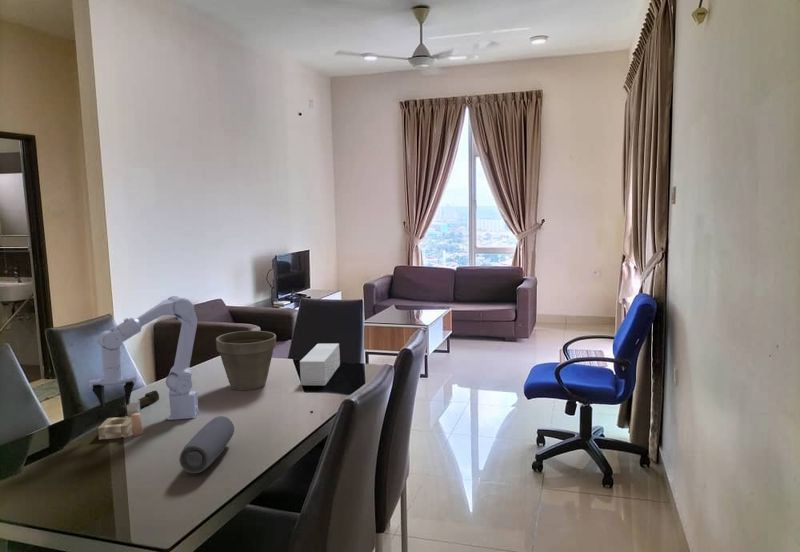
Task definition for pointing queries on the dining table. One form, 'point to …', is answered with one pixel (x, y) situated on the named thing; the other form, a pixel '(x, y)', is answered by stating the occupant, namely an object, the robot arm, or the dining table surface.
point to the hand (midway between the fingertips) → (115, 405)
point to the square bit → (133, 407)
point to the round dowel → (136, 424)
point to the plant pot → (246, 357)
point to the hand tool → (141, 402)
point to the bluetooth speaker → (206, 445)
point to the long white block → (319, 364)
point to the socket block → (115, 428)
